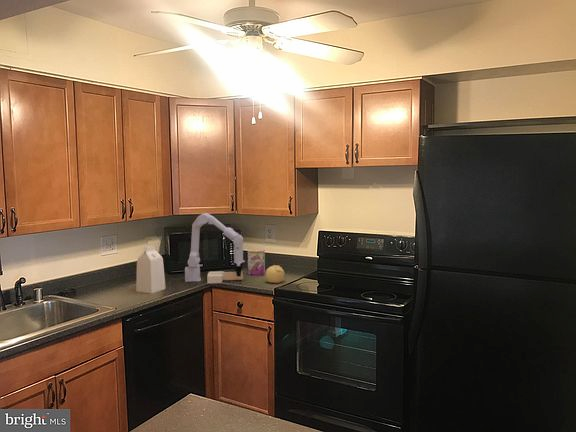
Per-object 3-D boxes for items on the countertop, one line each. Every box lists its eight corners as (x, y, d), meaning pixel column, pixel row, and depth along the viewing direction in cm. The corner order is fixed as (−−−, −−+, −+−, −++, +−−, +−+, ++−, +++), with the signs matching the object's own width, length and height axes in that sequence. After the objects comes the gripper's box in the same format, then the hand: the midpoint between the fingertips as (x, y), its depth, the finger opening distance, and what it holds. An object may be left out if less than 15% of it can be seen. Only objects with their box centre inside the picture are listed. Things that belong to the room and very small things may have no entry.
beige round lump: (285, 283, 287) (285, 266, 286) (266, 284, 285) (265, 267, 284) (283, 279, 298) (283, 263, 297) (264, 280, 297) (264, 263, 296)
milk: (150, 286, 283) (148, 244, 281) (165, 288, 278) (164, 245, 276) (136, 291, 272) (134, 247, 270) (151, 293, 267) (149, 248, 265)
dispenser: (207, 283, 290) (207, 276, 290) (209, 278, 304) (208, 271, 303) (223, 283, 291) (222, 275, 290) (223, 278, 305) (223, 271, 304)
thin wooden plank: (220, 280, 297) (220, 272, 297) (220, 279, 298) (220, 272, 298) (242, 279, 298) (242, 271, 298) (242, 279, 299) (242, 271, 299)
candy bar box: (247, 275, 313) (247, 251, 311) (248, 273, 318) (248, 249, 316) (264, 275, 312) (263, 251, 310) (265, 273, 317) (264, 249, 315)
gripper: (244, 255, 290) (245, 277, 292) (244, 252, 305) (245, 272, 306) (233, 256, 290) (233, 277, 291) (233, 252, 304) (234, 272, 305)
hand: (238, 275), depth 298 cm, fingers open, 7 cm apart
